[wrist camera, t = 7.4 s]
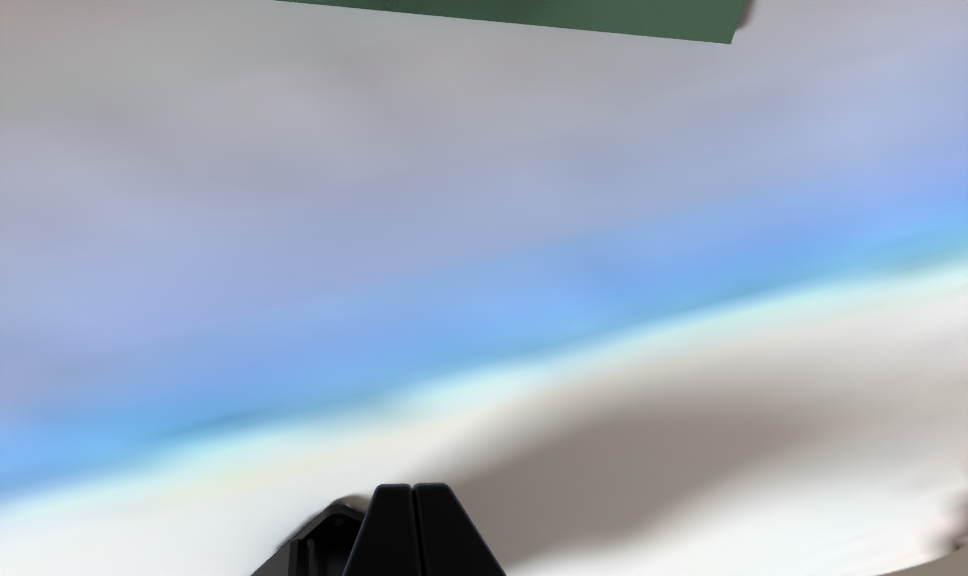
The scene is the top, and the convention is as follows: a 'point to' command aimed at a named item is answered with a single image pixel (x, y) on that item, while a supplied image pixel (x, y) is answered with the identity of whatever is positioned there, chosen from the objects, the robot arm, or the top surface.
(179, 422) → the top surface
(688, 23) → the green railed baseplate
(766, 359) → the top surface
